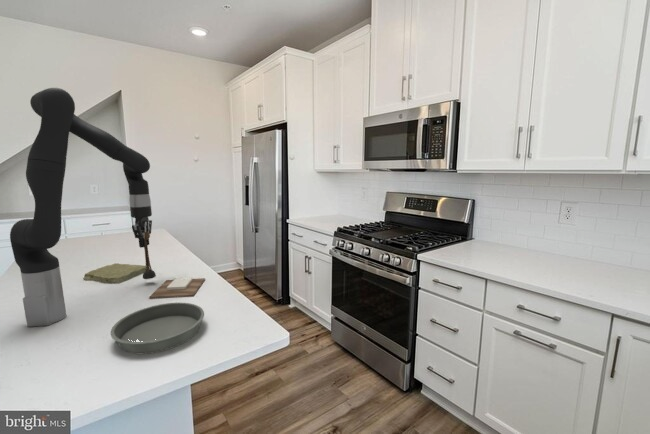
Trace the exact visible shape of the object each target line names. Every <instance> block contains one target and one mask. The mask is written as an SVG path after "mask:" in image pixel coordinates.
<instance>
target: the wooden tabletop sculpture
mask: <svg viewBox="0 0 650 434" xmlns="http://www.w3.org/2000/svg"><path fill="white" fill-rule="evenodd" d="M150 237H151V234H149V232H147V231H146V233H145V244H146V247H143V248H144V257H145V266H146V271H145V272H144V273H143V274H142V279H143V280H150V279H154V278H156V276H157V275H156V274H157V273H156V272H155V271H154V270H153V269H152V265H151V263H150V262H151V261H150V255H149V248H148V247H149V245H147V243H148V242H146V240H148V239H149V240H150Z"/></svg>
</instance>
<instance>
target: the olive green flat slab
mask: <svg viewBox="0 0 650 434" xmlns="http://www.w3.org/2000/svg"><path fill="white" fill-rule="evenodd" d="M145 271H146V265H141V264H130V263H128V264H127V263H115V262H114V263H113V264H108V265H105V266H102V267H99V268H96V269H92V270H90V271H88V272H86V273H85V274H84V276H83V277H82V280H83V281H88V282H89V281H90V282H91V281H93V282H98V283H103V284H116V285H120V284H121V283H122V284H123V283H124V282H126V281H129V280H131V279H134V278H136V277H138V276H140V275H143V273H144V272H145Z"/></svg>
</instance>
